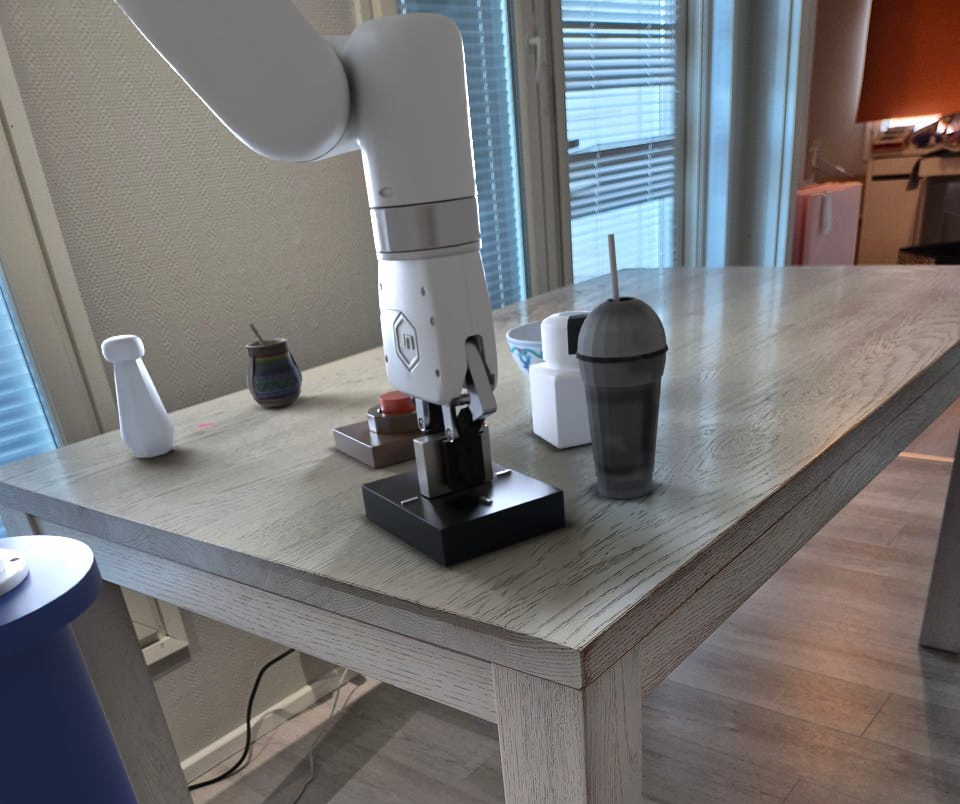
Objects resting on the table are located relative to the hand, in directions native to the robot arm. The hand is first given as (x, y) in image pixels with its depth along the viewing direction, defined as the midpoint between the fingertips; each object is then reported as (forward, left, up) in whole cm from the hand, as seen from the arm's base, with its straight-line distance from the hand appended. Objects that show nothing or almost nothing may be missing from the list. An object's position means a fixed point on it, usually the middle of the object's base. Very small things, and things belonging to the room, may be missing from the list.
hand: (456, 479), depth 70 cm
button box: (+7, +24, -4) cm, 25 cm away
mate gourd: (+4, +56, -4) cm, 56 cm away
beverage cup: (+14, -4, -4) cm, 15 cm away
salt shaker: (-15, +46, -4) cm, 49 cm away
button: (+7, +24, 0) cm, 25 cm away
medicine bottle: (+21, +12, -4) cm, 24 cm away
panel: (0, 0, -4) cm, 4 cm away
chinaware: (+31, +26, -4) cm, 41 cm away
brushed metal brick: (0, 0, -1) cm, 1 cm away
